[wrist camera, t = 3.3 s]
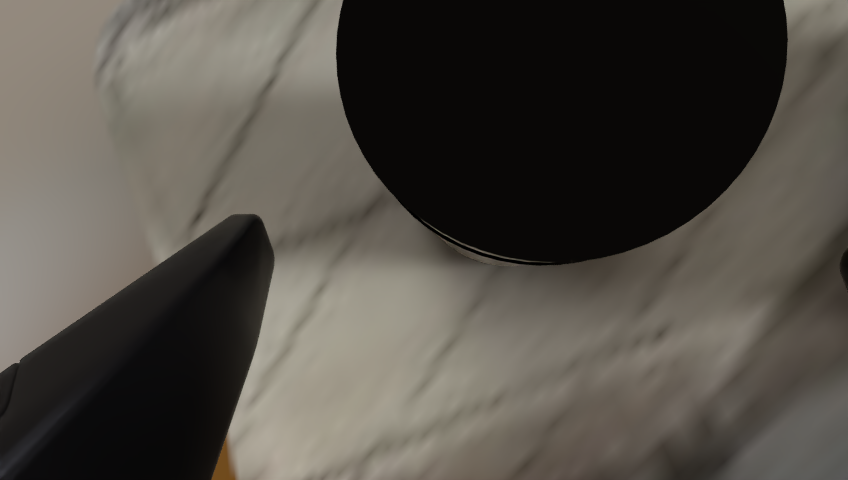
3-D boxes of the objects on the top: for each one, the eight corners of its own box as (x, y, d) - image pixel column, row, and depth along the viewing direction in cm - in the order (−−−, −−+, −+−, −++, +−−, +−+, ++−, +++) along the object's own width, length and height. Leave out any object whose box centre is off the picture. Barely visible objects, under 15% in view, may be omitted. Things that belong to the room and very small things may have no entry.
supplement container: (613, 89, 18) (808, -166, 7) (594, 279, 17) (769, 291, 7) (425, 75, 18) (362, -176, 8) (403, 256, 18) (308, 237, 8)
